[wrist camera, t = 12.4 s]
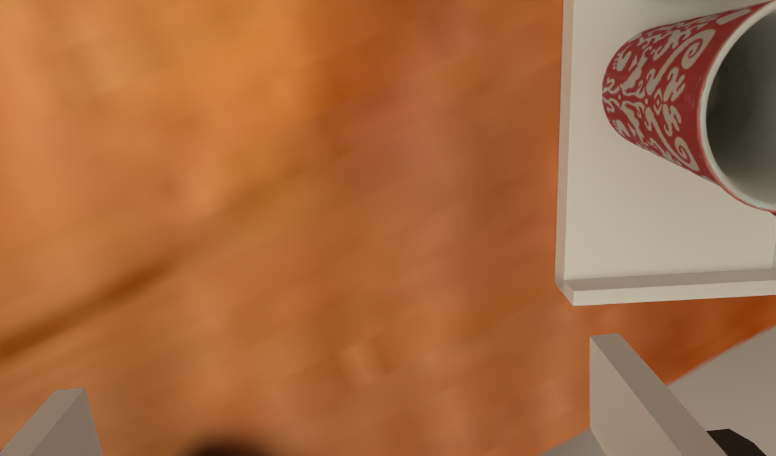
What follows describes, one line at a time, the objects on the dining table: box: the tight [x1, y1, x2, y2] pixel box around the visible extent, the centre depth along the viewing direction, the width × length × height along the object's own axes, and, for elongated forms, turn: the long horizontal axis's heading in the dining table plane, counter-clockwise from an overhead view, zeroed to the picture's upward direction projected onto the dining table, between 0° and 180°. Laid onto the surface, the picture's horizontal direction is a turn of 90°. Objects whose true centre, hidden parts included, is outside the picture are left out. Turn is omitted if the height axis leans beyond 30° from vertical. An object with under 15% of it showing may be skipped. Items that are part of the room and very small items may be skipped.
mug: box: [602, 0, 776, 216], centre depth 32 cm, size 13×9×14 cm
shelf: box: [555, 0, 776, 306], centre depth 38 cm, size 24×15×4 cm, turn 3°
